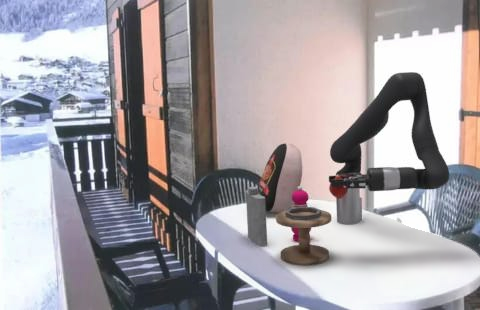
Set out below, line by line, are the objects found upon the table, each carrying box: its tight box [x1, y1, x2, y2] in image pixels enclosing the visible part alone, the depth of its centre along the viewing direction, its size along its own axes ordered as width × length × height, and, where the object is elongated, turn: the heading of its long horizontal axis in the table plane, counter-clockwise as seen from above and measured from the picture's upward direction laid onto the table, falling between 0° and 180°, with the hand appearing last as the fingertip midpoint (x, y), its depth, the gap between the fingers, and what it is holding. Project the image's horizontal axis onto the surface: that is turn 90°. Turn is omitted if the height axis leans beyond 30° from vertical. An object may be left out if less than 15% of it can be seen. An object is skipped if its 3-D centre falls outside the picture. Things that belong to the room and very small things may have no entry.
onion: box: [328, 174, 348, 199], centre depth 177 cm, size 6×6×8 cm
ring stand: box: [275, 206, 332, 266], centre depth 181 cm, size 18×18×16 cm
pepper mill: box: [290, 185, 312, 243], centre depth 199 cm, size 7×7×20 cm
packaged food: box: [257, 142, 303, 214], centre depth 239 cm, size 22×20×30 cm
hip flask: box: [245, 186, 268, 248], centre depth 201 cm, size 16×4×20 cm, turn 16°
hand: (330, 181), depth 177 cm, fingers closed on onion, 5 cm apart
